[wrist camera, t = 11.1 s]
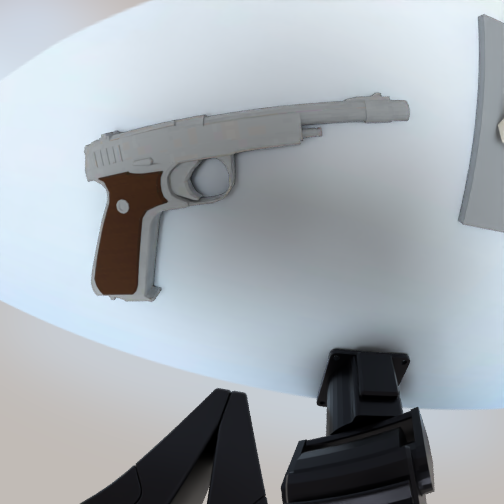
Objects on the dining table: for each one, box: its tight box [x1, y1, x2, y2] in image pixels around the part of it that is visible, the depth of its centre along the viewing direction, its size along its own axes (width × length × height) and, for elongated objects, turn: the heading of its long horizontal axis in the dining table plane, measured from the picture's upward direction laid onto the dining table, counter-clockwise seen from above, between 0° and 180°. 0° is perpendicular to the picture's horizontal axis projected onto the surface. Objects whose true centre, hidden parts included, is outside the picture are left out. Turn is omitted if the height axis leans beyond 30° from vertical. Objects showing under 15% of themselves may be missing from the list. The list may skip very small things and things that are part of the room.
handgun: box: [84, 93, 410, 302], centre depth 19 cm, size 2×23×12 cm
